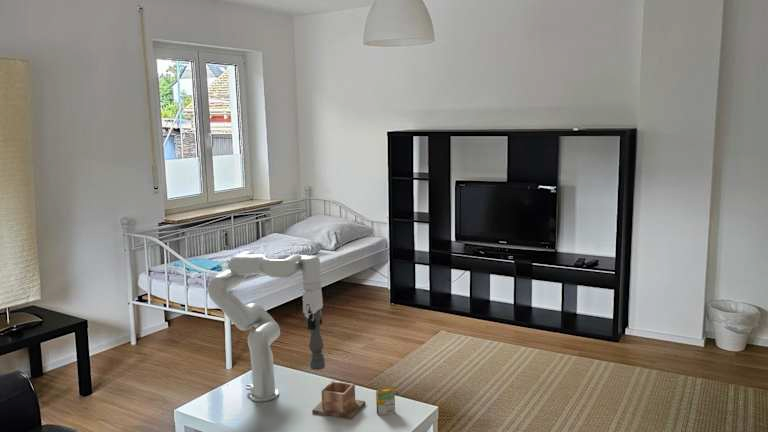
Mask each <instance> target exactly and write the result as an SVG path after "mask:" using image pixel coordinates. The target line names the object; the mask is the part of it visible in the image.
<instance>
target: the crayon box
mask: <svg viewBox="0 0 768 432" xmlns="http://www.w3.org/2000/svg"><path fill="white" fill-rule="evenodd" d="M395 395H396V394H395V386H390V387H383V388H378V389H377V390H376V391H375V398H376V399H375V400H376V403H375V404H376V414H377V415H378V416H385V415H386V416H387V415H391V414H396V400H395V399H396V398H395Z"/></svg>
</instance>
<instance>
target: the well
mask: <svg viewBox="0 0 768 432" xmlns="http://www.w3.org/2000/svg"><path fill="white" fill-rule="evenodd" d="M365 406H366V401H365V400H360V399H356V384H355V383H349V382H343V381H342V382H341V381H336V380H335V381H334V380H332V381H331V382H330V383H329V384H327V385H326V386H325V387H324V388H323V389H322V390H321V401H320V402H319V403H318V404H317V405H316V406H314V408H313V409H311V412H312V413H311V414H313V415H318V416H319V415H321V416H326V417H333V418H338V419H339V418H340V419H346V420H353V419H354V418H355V417H356V416H357V415H358V413H360V412H361V411H362V409H363V408H364V407H365Z"/></svg>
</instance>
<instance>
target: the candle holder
mask: <svg viewBox="0 0 768 432" xmlns="http://www.w3.org/2000/svg"><path fill="white" fill-rule="evenodd" d="M321 312H322V311H321V310H319V311H317V312H316V313H314V320H315V330H310V339H309V345H308V349H309V351H310V352H311V355H310V360H309V364H310V365H309V366H310V369H311V370H314V371H319V370H323V369H325V367H326V363H325V362H326V361H325V356H324V354H323V353H322V352H323V349H324V345H325V344H324V342H323V339H322V336H321V326H322V325H321V323H320V320H321V316H322V315H321ZM309 313H312V312H309ZM309 315H310V316H311V317H312V315H311V314H309Z"/></svg>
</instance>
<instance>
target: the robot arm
mask: <svg viewBox="0 0 768 432" xmlns="http://www.w3.org/2000/svg"><path fill="white" fill-rule="evenodd" d="M320 260H321V259H320V257H319V256H318V255H315V254H314V255H304V254H299V253H295V254H292V255H290V256H287V257H286V258H285V259H269V258H268V256H267V255H265V254H255V253H253V252H251V251H247V250H246V251H243V252H240V253H238V254H236V255H234V256H232V257H231V258H230V259H229V262H228V269H226V270H224V271H222V272H220V273H218V274H216V275H215V276H213V277H212V278H211V279H210V281H209V283H208V286H207V294H208V297H209V298H210V300H211V301H212V302H213V304H214V305H215V306H217V307H218V308H219V309H220V310H221V311H222V312H223V313H224V314H225V316H226V317H227V318H228V319H229V320H230V322H232V323H233V325H235V327H236V328H237V329H238V330H240V331H248V330H250V329H251V328H253V327H254V328H253V329H252V330H251V331H250V332H249V334H248V336H247V345H248V350H249V354H250V365H251V379H252V383H247V384H246V388H245V389H246V391H250V393H249V398H250V400H251V401H254V402H260V403H262V402H269V401H273V400H274V399H276V398H278V396H279V393H280V392H279V389H278V388H276V385H275V368H274V354H273V352H272V348H271V344H272V343H273V342H275V341H276V340H277V339H278V338H279V336H280V334H281V327H280V326H279V324H278V322H277V321H276V320H275V319H274V318H273V317H272V316H271V315H270V313H268V311H267V310H265V308H264V306H263V307H262V305H260V304H258V303H255V302H250V303H247V304H244V303H243V302H242V301H241V300H240V299H239V298H238V297H237V296H235V295H234V294H232V293H230V292H229V291H230V290H233V289H234V288H237V287H238V286H240V285H241V283H243V281H244V280H246V278H247V277H248V276H249V275H253V276H254V275H256V276H257V275H261V276H262V275H263V276H265V277H268V278H274V279H275V278H290V277H293V276H294V275H295V276H296V275H297V274H298V273H302V286H303V291H302V292H303V293H302V313H303V314H304V317H305V318H306V321H307V330H310V331H311V330H315V320H314V313H316V312H317V311H319V310H321V320H320V323H321V326H322V324H323V317H322V314H323V313H322V312H323V306H324V303H323V302H324V299H323V292H322V291H323V290H322V277H321V276H322V275H321V274H322V273H321V261H320ZM309 312H312V313H309ZM309 314H311V315H312V317H311V316H310V315H309Z"/></svg>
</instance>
